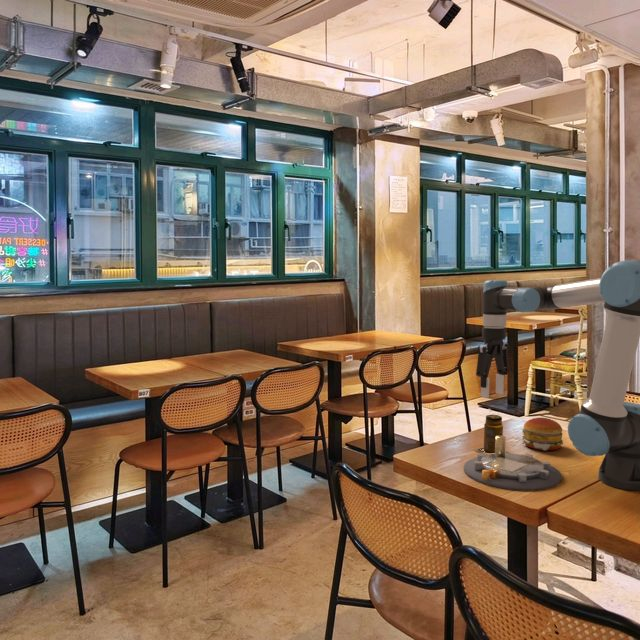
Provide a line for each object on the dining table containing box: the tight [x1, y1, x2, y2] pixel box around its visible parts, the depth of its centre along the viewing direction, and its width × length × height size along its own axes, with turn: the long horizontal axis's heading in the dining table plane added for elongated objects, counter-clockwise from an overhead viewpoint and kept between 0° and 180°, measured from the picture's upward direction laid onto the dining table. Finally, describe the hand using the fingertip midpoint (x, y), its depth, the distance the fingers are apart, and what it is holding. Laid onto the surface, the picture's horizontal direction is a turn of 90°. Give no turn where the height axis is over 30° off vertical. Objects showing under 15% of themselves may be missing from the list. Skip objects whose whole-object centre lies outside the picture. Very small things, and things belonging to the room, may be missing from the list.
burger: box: [521, 417, 564, 451], centre depth 212 cm, size 13×14×10 cm
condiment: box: [474, 414, 508, 455], centre depth 207 cm, size 7×8×12 cm
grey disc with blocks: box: [474, 435, 552, 482], centre depth 186 cm, size 22×22×8 cm
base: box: [463, 456, 563, 491], centre depth 186 cm, size 28×28×4 cm
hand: (492, 395), depth 206 cm, fingers open, 7 cm apart
